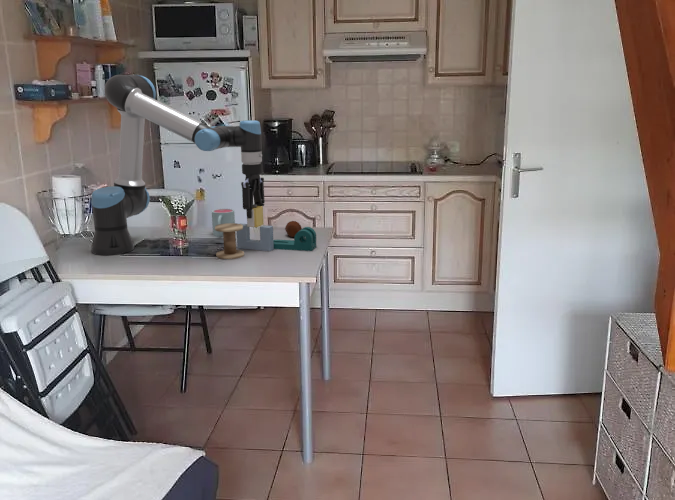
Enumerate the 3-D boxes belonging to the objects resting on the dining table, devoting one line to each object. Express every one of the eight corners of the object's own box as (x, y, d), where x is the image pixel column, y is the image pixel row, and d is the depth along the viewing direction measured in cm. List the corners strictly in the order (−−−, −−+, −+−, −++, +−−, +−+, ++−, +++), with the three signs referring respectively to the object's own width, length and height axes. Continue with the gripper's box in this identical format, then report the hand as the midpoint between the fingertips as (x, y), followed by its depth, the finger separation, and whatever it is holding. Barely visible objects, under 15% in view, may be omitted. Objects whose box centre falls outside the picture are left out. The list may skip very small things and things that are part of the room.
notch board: (237, 248, 240) (236, 225, 238) (241, 246, 243) (240, 223, 241) (270, 251, 235) (269, 227, 233) (273, 249, 238) (273, 226, 236)
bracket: (316, 247, 242) (316, 227, 240) (311, 251, 235) (311, 231, 233) (272, 244, 246) (271, 225, 244) (266, 249, 239) (265, 228, 237)
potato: (283, 238, 255) (282, 222, 253) (287, 233, 264) (286, 218, 262) (300, 238, 254) (299, 223, 253) (303, 233, 263) (303, 218, 262)
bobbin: (211, 257, 227) (209, 228, 224) (225, 251, 236) (223, 222, 233) (235, 260, 223) (234, 230, 221) (249, 253, 233) (247, 224, 230)
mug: (215, 231, 267) (214, 208, 265) (237, 231, 267) (236, 208, 264) (208, 239, 254) (206, 215, 252) (230, 239, 254) (229, 215, 251)
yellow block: (247, 226, 235) (246, 205, 233) (254, 223, 240) (253, 203, 238) (256, 227, 234) (255, 206, 232) (263, 224, 239) (262, 203, 237)
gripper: (249, 166, 221) (252, 230, 227) (272, 160, 238) (274, 220, 244) (230, 165, 224) (233, 229, 230) (254, 160, 241) (257, 219, 246)
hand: (254, 224), depth 237 cm, fingers closed on yellow block, 5 cm apart
